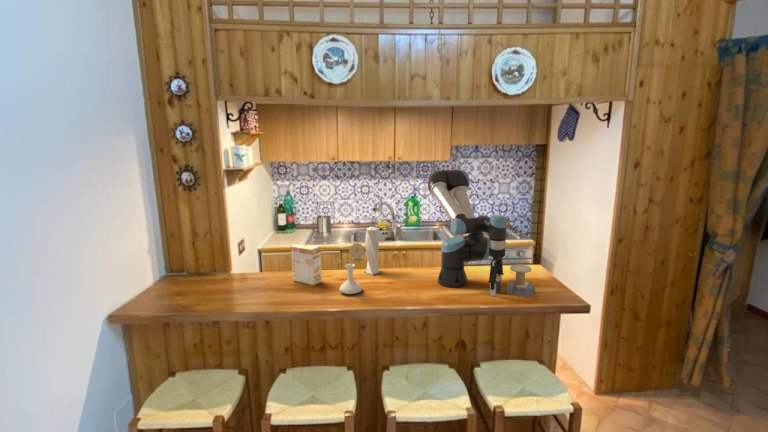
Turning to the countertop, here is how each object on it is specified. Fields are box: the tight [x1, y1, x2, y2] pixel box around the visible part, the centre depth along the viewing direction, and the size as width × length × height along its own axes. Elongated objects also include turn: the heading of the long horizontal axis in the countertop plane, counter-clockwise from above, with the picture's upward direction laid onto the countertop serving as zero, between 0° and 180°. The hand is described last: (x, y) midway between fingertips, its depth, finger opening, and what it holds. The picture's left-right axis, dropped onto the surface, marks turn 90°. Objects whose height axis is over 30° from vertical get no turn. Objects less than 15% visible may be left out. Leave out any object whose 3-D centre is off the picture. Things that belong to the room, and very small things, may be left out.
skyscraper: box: [363, 224, 382, 276], centre depth 229 cm, size 8×8×28 cm
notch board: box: [505, 280, 536, 299], centre depth 199 cm, size 12×8×4 cm, turn 61°
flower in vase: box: [338, 242, 366, 295], centre depth 202 cm, size 13×11×25 cm
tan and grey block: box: [492, 277, 502, 295], centre depth 201 cm, size 4×4×7 cm
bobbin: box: [509, 264, 532, 290], centre depth 208 cm, size 10×10×10 cm
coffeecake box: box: [290, 242, 323, 286], centre depth 218 cm, size 15×7×20 cm, turn 58°
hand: (495, 291), depth 201 cm, fingers open, 11 cm apart
